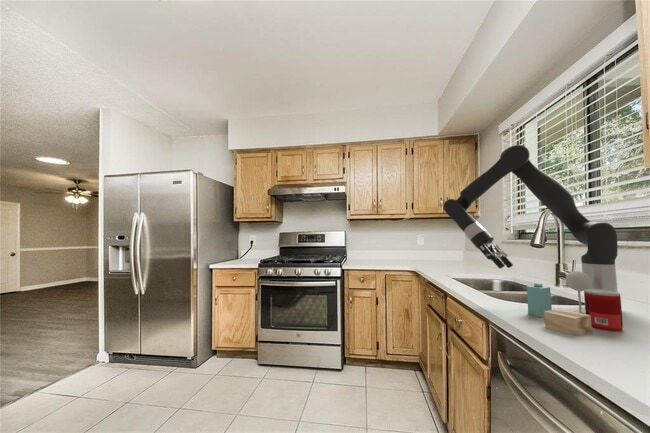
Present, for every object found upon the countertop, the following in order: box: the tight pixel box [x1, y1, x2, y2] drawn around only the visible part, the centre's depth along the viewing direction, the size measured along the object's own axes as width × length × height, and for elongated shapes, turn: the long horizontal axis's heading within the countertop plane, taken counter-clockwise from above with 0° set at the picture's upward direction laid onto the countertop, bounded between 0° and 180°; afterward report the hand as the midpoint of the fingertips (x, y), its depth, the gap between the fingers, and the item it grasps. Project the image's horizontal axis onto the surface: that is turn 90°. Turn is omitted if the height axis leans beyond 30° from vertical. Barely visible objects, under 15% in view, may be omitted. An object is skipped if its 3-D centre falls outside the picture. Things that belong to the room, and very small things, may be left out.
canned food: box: [583, 289, 624, 332], centre depth 84 cm, size 8×8×11 cm
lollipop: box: [565, 270, 592, 313], centre depth 99 cm, size 7×7×15 cm
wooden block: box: [543, 308, 593, 337], centre depth 82 cm, size 8×8×5 cm
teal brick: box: [526, 282, 553, 319], centre depth 97 cm, size 5×5×11 cm
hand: (506, 267), depth 106 cm, fingers open, 8 cm apart
